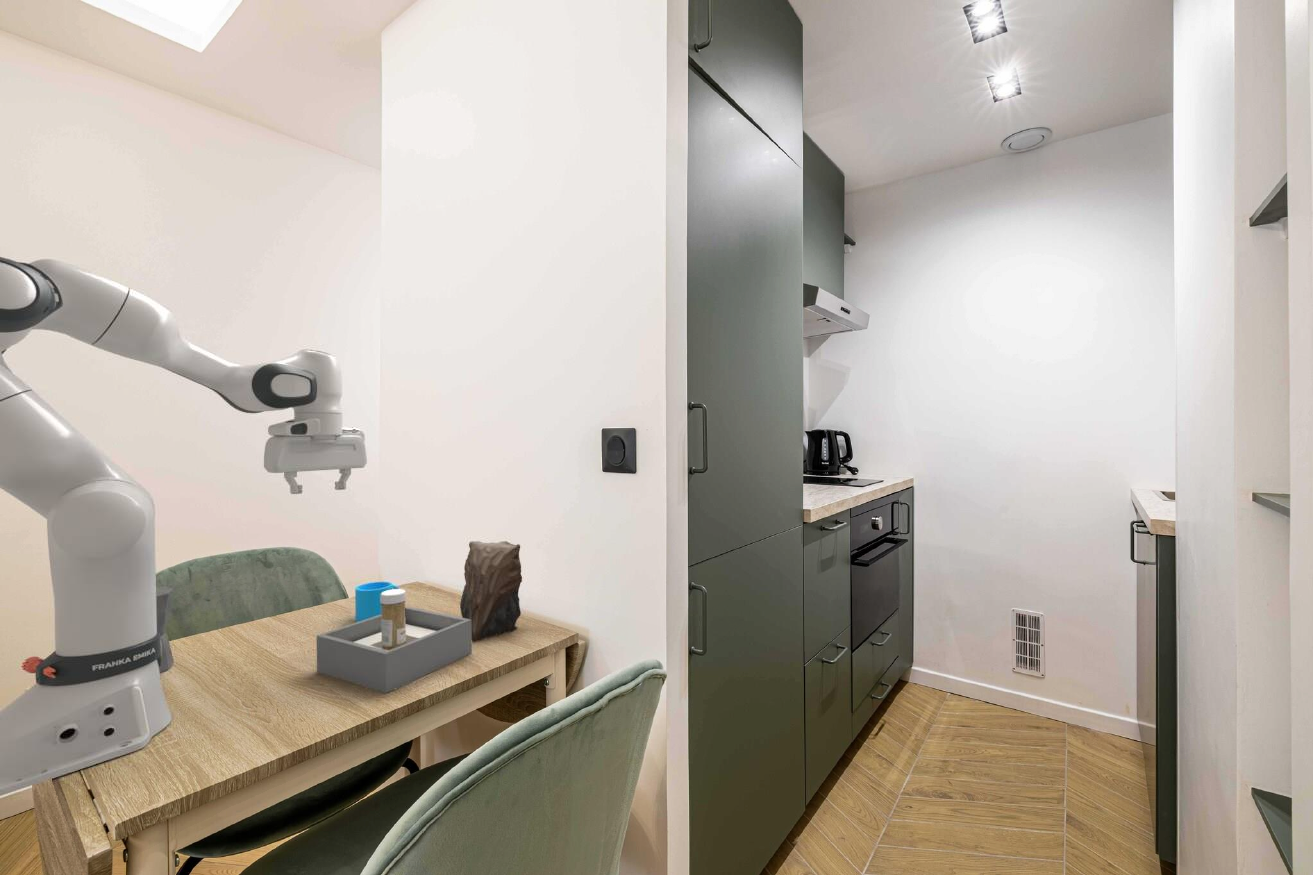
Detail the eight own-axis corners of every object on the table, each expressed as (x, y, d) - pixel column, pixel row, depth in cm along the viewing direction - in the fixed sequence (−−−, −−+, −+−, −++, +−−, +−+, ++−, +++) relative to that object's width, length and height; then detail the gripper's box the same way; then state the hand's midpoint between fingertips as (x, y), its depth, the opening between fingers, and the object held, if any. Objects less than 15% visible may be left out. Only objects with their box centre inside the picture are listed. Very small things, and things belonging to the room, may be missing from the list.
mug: (372, 626, 132) (371, 592, 132) (347, 622, 136) (347, 588, 136) (412, 611, 144) (411, 579, 143) (388, 607, 147) (388, 576, 147)
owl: (458, 625, 133) (458, 541, 132) (511, 616, 139) (510, 536, 139) (470, 642, 122) (469, 551, 122) (527, 631, 128) (526, 544, 128)
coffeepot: (144, 658, 114) (142, 571, 114) (193, 656, 115) (192, 569, 115) (73, 694, 99) (71, 592, 99) (130, 691, 100) (129, 591, 99)
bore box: (386, 693, 98) (385, 654, 98) (317, 671, 107) (316, 635, 107) (471, 653, 116) (471, 619, 116) (406, 637, 125) (405, 606, 125)
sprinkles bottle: (409, 659, 110) (408, 591, 110) (384, 665, 107) (383, 596, 107) (402, 652, 114) (402, 586, 114) (378, 658, 111) (377, 591, 111)
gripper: (355, 427, 130) (355, 486, 130) (259, 426, 112) (259, 495, 112) (372, 427, 127) (373, 488, 127) (276, 426, 109) (277, 497, 109)
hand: (319, 491), depth 120 cm, fingers open, 8 cm apart
